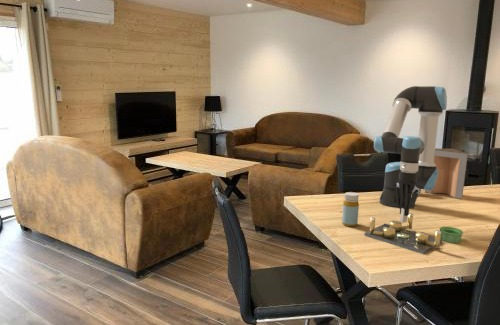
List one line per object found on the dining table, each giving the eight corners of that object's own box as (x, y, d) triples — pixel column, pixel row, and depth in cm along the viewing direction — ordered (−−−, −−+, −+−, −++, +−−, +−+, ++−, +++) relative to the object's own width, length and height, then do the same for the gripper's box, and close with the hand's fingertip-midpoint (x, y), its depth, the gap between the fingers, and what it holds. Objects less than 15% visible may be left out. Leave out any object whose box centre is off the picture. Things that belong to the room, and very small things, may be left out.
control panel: (364, 235, 172) (364, 231, 172) (384, 225, 184) (385, 221, 184) (423, 254, 153) (424, 249, 153) (442, 242, 166) (442, 237, 165)
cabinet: (424, 192, 244) (429, 148, 238) (430, 190, 251) (434, 146, 245) (461, 199, 230) (467, 152, 224) (465, 196, 237) (471, 150, 231)
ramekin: (451, 245, 163) (453, 235, 162) (433, 237, 171) (434, 227, 170) (466, 242, 167) (467, 232, 166) (448, 234, 175) (449, 225, 174)
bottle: (348, 228, 181) (351, 196, 178) (338, 223, 187) (340, 192, 184) (360, 225, 184) (362, 194, 181) (350, 221, 190) (352, 191, 187)
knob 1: (395, 234, 169) (396, 220, 168) (393, 238, 165) (395, 223, 163) (370, 230, 174) (371, 216, 172) (368, 234, 169) (369, 219, 168)
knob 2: (392, 231, 173) (394, 216, 172) (387, 227, 178) (388, 213, 177) (414, 230, 175) (416, 216, 174) (408, 226, 180) (409, 212, 179)
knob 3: (412, 239, 164) (413, 224, 162) (420, 237, 166) (421, 223, 165) (434, 249, 155) (436, 233, 153) (442, 246, 157) (444, 231, 156)
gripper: (391, 169, 178) (386, 218, 183) (415, 174, 168) (410, 227, 172) (402, 167, 182) (397, 216, 187) (426, 173, 171) (420, 224, 176)
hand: (403, 221), depth 179 cm, fingers closed
